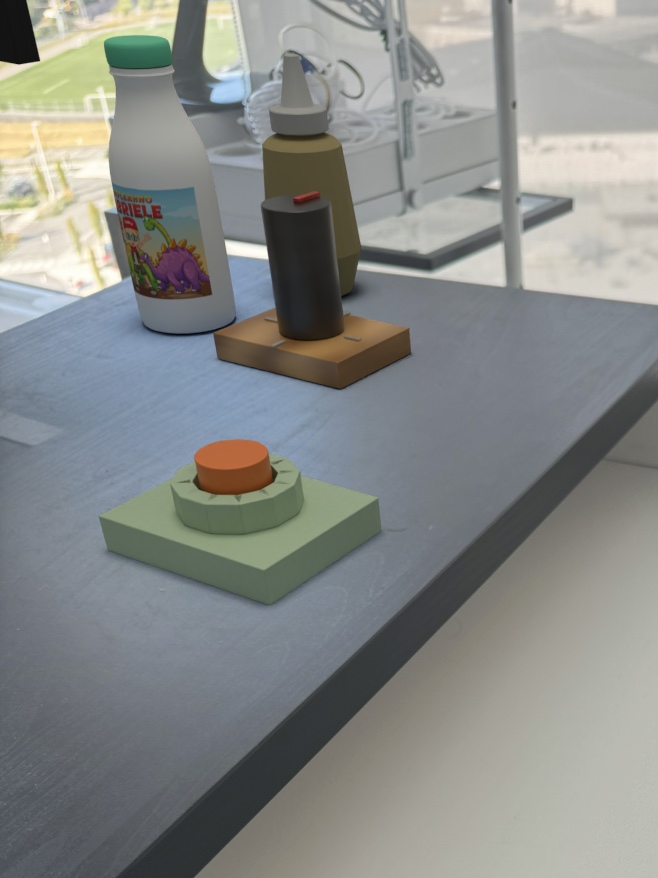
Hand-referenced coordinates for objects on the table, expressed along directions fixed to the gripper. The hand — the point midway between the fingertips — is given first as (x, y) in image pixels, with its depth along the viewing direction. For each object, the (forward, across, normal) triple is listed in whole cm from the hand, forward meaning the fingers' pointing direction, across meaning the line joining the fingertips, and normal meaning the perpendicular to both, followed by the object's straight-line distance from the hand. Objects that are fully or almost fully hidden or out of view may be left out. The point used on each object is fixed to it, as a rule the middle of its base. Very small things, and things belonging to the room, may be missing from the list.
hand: (12, 59), depth 65 cm
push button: (+18, -7, -19) cm, 27 cm away
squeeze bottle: (+22, +32, +8) cm, 40 cm away
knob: (+20, +19, -3) cm, 28 cm away
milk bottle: (+22, +20, +11) cm, 32 cm away
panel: (+22, +19, -3) cm, 29 cm away
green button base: (+21, -7, -19) cm, 29 cm away
